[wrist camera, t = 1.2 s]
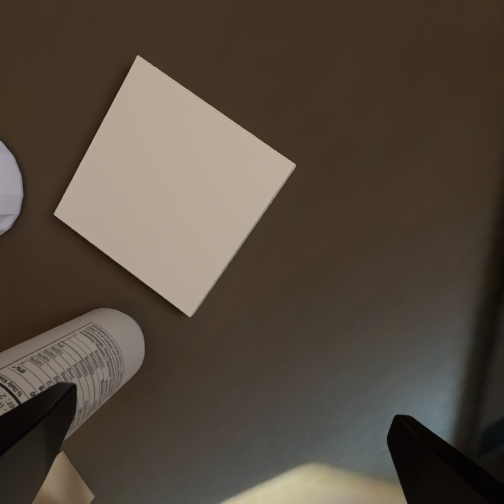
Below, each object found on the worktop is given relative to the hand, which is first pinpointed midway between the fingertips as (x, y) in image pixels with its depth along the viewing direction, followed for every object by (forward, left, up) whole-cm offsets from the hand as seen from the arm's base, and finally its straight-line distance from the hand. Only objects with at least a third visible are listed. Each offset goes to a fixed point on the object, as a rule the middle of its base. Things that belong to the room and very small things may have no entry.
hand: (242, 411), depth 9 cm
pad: (+9, +6, -14) cm, 18 cm away
